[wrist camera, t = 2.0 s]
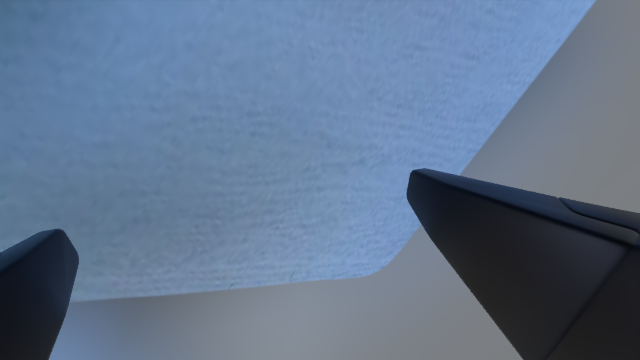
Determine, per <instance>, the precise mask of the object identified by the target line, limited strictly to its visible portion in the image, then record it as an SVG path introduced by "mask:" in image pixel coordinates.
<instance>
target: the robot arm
mask: <svg viewBox="0 0 640 360" xmlns="http://www.w3.org/2000/svg"><path fill="white" fill-rule="evenodd" d="M407 199H408V202H409V204H410V205H411V207H412V209H413V211H414V212H415V214H416V216H417V217H418V219H419V221H420V222H421V224H422V226H423V227H424V229H425V231H426V232H427V234H428V235H429V237H430V238H431V240H432V241H433V242H434V244H435V245H436V246H437V248H438V249H439V250H440V252H441V253H442V254H443V255H444V257H445V258H446V259H447V261H448V262H449V263H450V265H451V266H452V267H453V269H454V270H455V271H456V272H457V274H458V275H459V276H460V278H461V279H462V280H463V282H464V283H465V284H466V286H467V287H468V288H469V289H470V291H471V292H472V293H473V294H474V296H475V297H476V299H477V300H478V301H479V302H480V304H481V305H482V306H483V308H484V309H485V310H486V312H487V313H488V314H489V316H490V317H491V318H492V320H493V321H494V322H495V323H496V325H497V326H498V327H499V329H500V330H501V331H502V332H503V334H504V335H505V336H506V338H507V339H508V340H509V342H510V343H511V344H512V346H513V347H514V348H515V349H516V351H517V352H518V353H519V355H520V356H521V357H522V359H523V360H640V213H635V212H629V211H624V210H619V209H614V208H608V207H603V206H599V205H594V204H589V203H584V202H579V201H575V200H570V199H565V198H556V197H554V196H549V195H545V194H540V193H536V192H531V191H526V190H522V189H517V188H513V187H508V186H503V185H499V184H494V183H490V182H485V181H480V180H476V179H471V178H467V177H463V176H458V175H453V174H449V173H444V172H440V171H435V170H431V169H426V168H423V169H417V170H413V171H412V172H411V173H410V177H409V183H408V188H407ZM78 264H79V257H78V253H77V251H76V249H75V248H74V246H73V245H72V243H71V241H70V240H69V238H68V236H67V235H66V233H65V232H64V231H63V230H61V229H53V230H47V231H42V232H39V233H37V234H35V235H33V236H31V237H29V238H27V239H26V240H24V241H22V242H20V243H18V244H16V245H14V246H12V247H10V248H9V249H7V250H5V251H3V252H1V253H0V360H48V359H49V357H50V354H51V352H52V349H53V347H54V344H55V342H56V339H57V336H58V334H59V331H60V329H61V326H62V324H63V321H64V318H65V315H66V311H67V308H68V305H69V301H70V297H71V293H72V288H73V284H74V280H75V276H76V272H77V268H78Z"/></svg>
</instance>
